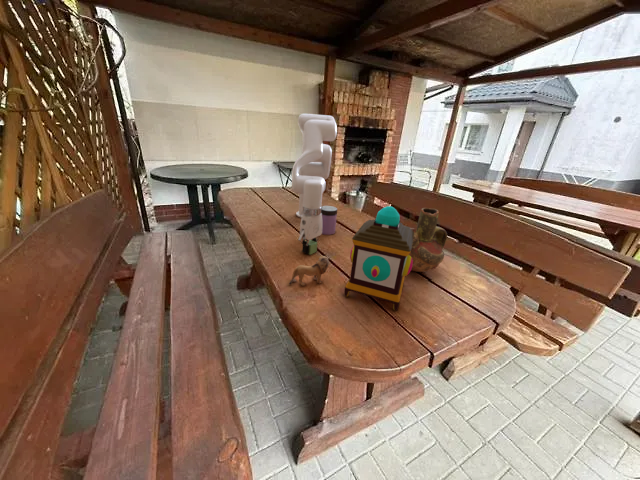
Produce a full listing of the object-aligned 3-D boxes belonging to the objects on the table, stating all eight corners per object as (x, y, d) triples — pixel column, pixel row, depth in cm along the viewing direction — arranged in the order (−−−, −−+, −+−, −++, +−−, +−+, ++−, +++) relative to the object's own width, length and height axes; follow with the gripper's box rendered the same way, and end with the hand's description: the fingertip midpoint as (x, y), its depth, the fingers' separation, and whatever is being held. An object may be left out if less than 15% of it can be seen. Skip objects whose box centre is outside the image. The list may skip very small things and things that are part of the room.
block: (308, 248, 117) (309, 239, 115) (316, 251, 115) (317, 242, 113) (302, 251, 114) (302, 242, 112) (310, 255, 111) (310, 245, 109)
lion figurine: (323, 274, 98) (325, 252, 94) (330, 281, 93) (332, 259, 90) (286, 281, 91) (286, 259, 88) (291, 290, 87) (292, 266, 83)
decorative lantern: (338, 297, 85) (348, 208, 73) (354, 270, 102) (364, 194, 90) (401, 316, 78) (424, 222, 66) (407, 283, 95) (426, 204, 83)
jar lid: (326, 209, 139) (326, 204, 138) (340, 213, 134) (340, 208, 133) (315, 212, 132) (316, 207, 132) (330, 216, 128) (330, 212, 127)
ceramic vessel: (375, 264, 107) (385, 205, 97) (420, 254, 119) (433, 201, 109) (405, 286, 93) (420, 221, 83) (453, 273, 105) (471, 213, 95)
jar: (324, 226, 143) (326, 205, 138) (338, 231, 138) (340, 209, 134) (314, 231, 137) (316, 209, 132) (328, 236, 132) (330, 213, 127)
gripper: (305, 217, 98) (303, 260, 106) (331, 208, 111) (327, 247, 118) (290, 212, 102) (289, 254, 110) (317, 205, 115) (314, 242, 122)
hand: (309, 250), depth 114 cm, fingers open, 4 cm apart
